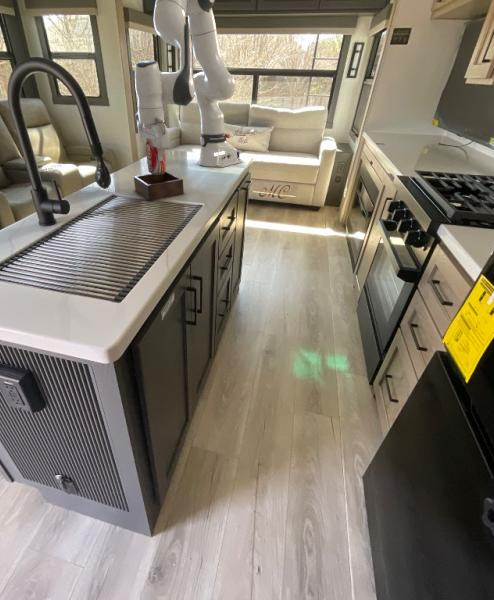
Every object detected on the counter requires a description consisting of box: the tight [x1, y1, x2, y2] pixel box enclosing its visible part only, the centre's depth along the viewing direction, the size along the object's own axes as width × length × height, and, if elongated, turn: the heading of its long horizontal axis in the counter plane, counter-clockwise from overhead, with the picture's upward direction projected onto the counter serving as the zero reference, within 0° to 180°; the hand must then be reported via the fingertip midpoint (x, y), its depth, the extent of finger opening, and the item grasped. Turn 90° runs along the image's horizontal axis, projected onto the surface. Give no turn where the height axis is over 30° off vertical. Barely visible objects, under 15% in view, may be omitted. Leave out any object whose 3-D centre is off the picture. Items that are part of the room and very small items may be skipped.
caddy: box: [133, 170, 185, 201], centre depth 130 cm, size 15×15×6 cm
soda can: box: [145, 140, 167, 175], centre depth 124 cm, size 7×7×12 cm
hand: (155, 158), depth 124 cm, fingers closed on soda can, 7 cm apart
